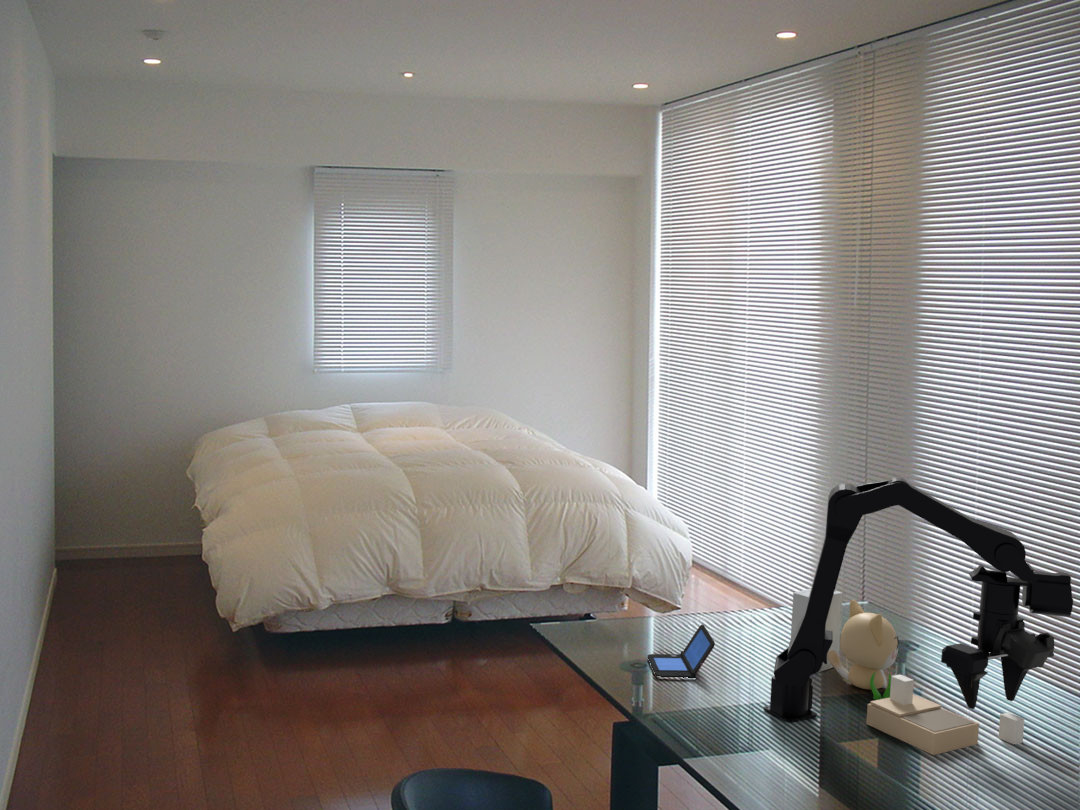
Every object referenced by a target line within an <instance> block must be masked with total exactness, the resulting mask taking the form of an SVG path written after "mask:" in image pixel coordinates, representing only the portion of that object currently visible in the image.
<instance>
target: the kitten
mask: <svg viewBox="0 0 1080 810" xmlns="http://www.w3.org/2000/svg"><path fill="white" fill-rule="evenodd" d="M848 617H849V618H848V620H847V621H846V622H845V623H844V625H843V628H841V629H842V630H841V631H840V645H839V649H840V651H841V654H842V655H843V656H844V658H846V659H847V660H848V661H849V662H851V663H852V664H853V665H852V666H851V667H850V668H849V670H848V669H847V668H845V666H843V664H842V663H841V660H840V656H839V657H838V655H837V653H836V652H835V651H833V650H830V651H829V652H828V654H827V656H828V660H829V662H830V664H831V665H832V666H833V668H834V669H835V671H836V672H837V673H838V675H840V676H841V677H842V678H843V679H844V680H846V681H848V682H849V683H851V684H852V685H853V686H855V687H856V688H860V689H863V690H871V691H872V694H873V700H880V699H885V698H890V688H891V676H892V675H891V673H890V672H889V673H888V679H887V677H886V673H885V672H884V670H886V669H887V668H890V667H891V666H892V665H893V664H894V663H895V661H896V659H897V656H898V651H899V647H900V646H899V645H900V640H899V636H897V633H896V631H895V628H894V627H893V625H892V624H891V622H889V620H887V618H886V617H884V616H882V614H881V613H873V612H865V611H864V609H863V607H862V606H861V605H860V603H859V602H858V601H857V600H856V599H852V600H850V602H849V615H848ZM881 688H882V689H885V690H884V693H883V695H882V694H881V693H880V691H879V689H881Z"/></svg>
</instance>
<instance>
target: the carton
mask: <svg viewBox="0 0 1080 810" xmlns="http://www.w3.org/2000/svg"><path fill="white" fill-rule="evenodd" d="M866 725H868V726H870V727H872V728H874V729H876V730H878V731H880V732H883V733H885V734H887V735H889V736H892V737H894V738H896V739H898V740H900V741H902V742H905V743H907V744H909V745H911V746H913V747H915V748H918V749H919V750H921V751H924V752H926V753H928V754H930V755H931V756H935V755H939V754H944V753H946V752H947V753H948V752H951V751H955V750H961V749H964V748H968V747H971V746H973V747H974V746H976V745H978V744H979V730H980V723H979V722H977V721H974V720H972V719H969V718H967V717H964V716H962V715H959V714H957V713H955V712H953V711H950V710H947V709H945V708H943V707H941V708H939V709H934V710H929V711H925V712H920V713H915V714H911V715H906V716H902V717H899V716H897V715H895V714H892V713H890V712H888V711H886V710H883V709H881V708H879V707H876V706H874V705H872V704H870V703H867V709H866Z"/></svg>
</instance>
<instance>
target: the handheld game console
mask: <svg viewBox="0 0 1080 810" xmlns="http://www.w3.org/2000/svg"><path fill="white" fill-rule="evenodd" d="M715 642H716V641H715V640H714V639H713V637H712V636H711V634H710V633H709V631H708V629H707V627H706V626H705V625H704V624H700V625H699V626H698V628H697V629H696V631H695V632H694V634H693V636H692V637H691V638H690V640H689V642H687V645H686V646H685V647H684V649H683V650H681V651H680V653H679V654H677V653H675V654H674V653H672V654H671V653H670V654H669V653H665V654H663V653H660V654H659V653H651V654H650V653H649V654H648V655H647V658H648V659H649V661H650V663H651V666H652V668H653V670H654V672H655V675H656V676H661V677H683V678H684V677H688V678H696V679H697V674H698V672H699V670H700V669H701V667H702V666H703V665H704V663H705V661H706V660H707V658H708V657H709V655H710V653H712V652H713V649H714V648H715V645H716V643H715ZM648 659H647V660H648ZM649 661H648V662H649ZM651 666H650V667H651ZM652 668H651V669H652ZM655 675H654V676H655Z"/></svg>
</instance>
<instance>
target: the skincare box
mask: <svg viewBox="0 0 1080 810" xmlns="http://www.w3.org/2000/svg"><path fill="white" fill-rule="evenodd" d="M811 588H812V587H810V588H806V589H803V590H799V591H795V592H793V593H792V609H791V610H792V611H791V612H792V613H791V628H790V639H791V638H792V636H793V634H794V632H795V630H796V628H797V626H798V624H799V622H800V620H801V619H802V617H803V615H804V613H805V610H806V606H807V603H808V599H809V595H810V591H811ZM842 606H843V592H842V591H838V590H835V591H834V595H833V598H832V602H831V606H830V609H829V613H828V617H827V620H826V626H825V630H828V631H832V632H833V642H832V645H831V647H830V649H829V651H830V650H833V651H835V652H836V653H837V655H838V657H839V658H840V636H841V629H842V628H841V625H842V609H843V607H842ZM829 651H828V652H829ZM827 654H828V653H827ZM832 668H834V667H833V666H832V665H831V664H830V662H829V660H828V656H827V664H824V663H823V664H822V667H821V669H820V670H819V672H818V673H821V672H823V671H827V670H829V669H832Z"/></svg>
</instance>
